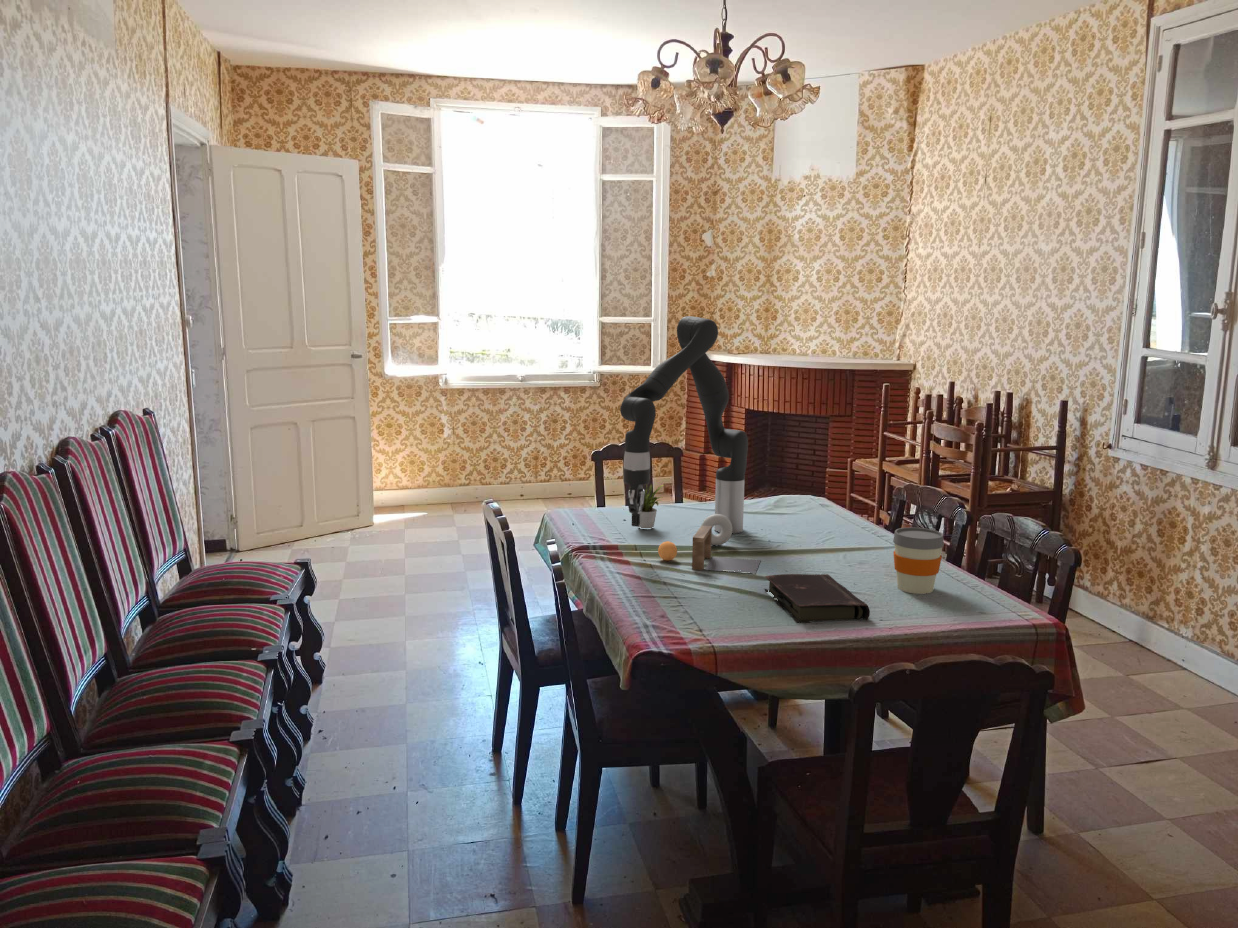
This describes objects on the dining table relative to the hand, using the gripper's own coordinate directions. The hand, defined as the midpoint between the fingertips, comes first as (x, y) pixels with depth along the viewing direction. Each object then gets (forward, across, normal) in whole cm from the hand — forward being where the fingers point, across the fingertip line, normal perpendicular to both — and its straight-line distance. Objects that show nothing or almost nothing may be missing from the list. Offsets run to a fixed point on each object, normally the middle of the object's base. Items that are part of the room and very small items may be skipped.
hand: (635, 525), depth 270 cm
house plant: (+9, -35, -6) cm, 37 cm away
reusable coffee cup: (+10, +8, +78) cm, 78 cm away
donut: (+10, -20, +21) cm, 30 cm away
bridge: (+10, 0, +20) cm, 22 cm away
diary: (+10, +29, +52) cm, 61 cm away
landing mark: (+10, 0, +28) cm, 30 cm away
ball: (+7, 0, +10) cm, 12 cm away
